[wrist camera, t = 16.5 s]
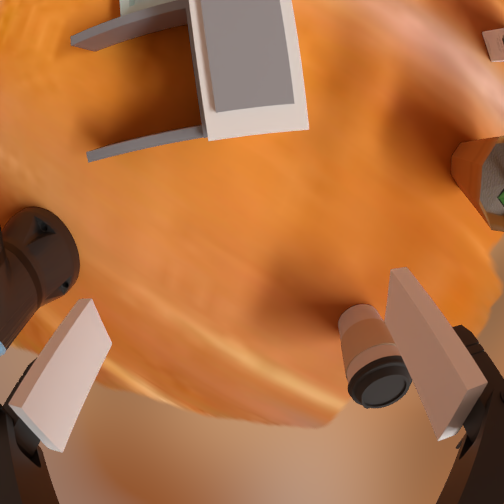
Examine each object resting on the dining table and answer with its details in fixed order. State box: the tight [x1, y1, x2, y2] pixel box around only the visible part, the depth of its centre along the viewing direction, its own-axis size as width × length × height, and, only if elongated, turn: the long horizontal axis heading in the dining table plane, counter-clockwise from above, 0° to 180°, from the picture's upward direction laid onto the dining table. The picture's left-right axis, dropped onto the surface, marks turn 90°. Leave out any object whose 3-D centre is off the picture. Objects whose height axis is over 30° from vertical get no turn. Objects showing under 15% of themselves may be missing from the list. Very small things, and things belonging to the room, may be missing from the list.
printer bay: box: [71, 0, 309, 163], centre depth 26 cm, size 23×15×13 cm
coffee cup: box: [338, 304, 412, 409], centre depth 40 cm, size 9×9×15 cm
